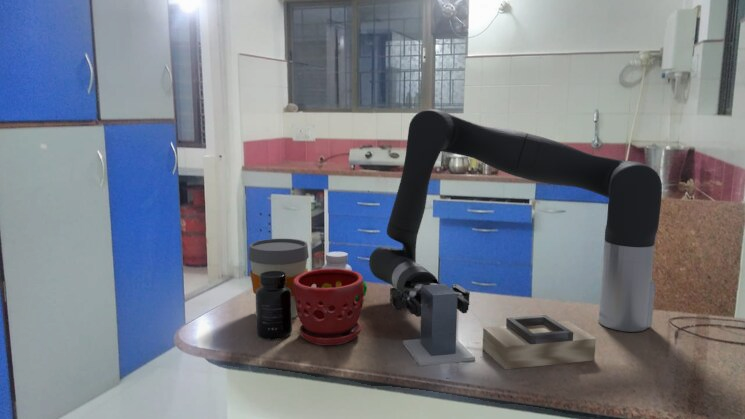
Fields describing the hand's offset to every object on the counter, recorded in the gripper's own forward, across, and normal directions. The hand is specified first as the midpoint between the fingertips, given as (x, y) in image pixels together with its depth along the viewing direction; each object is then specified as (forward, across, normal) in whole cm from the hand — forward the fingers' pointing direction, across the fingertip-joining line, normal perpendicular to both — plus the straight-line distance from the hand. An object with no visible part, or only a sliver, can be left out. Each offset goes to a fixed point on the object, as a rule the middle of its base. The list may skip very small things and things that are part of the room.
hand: (442, 309), depth 100 cm
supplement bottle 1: (-17, -28, +9) cm, 34 cm away
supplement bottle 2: (-27, -14, +9) cm, 32 cm away
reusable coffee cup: (-29, -26, +9) cm, 40 cm away
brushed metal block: (-2, 0, +8) cm, 8 cm away
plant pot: (-13, -18, +9) cm, 24 cm away
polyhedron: (-35, -8, +9) cm, 37 cm away
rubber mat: (-2, 0, +8) cm, 9 cm away
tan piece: (+3, +17, +8) cm, 19 cm away
